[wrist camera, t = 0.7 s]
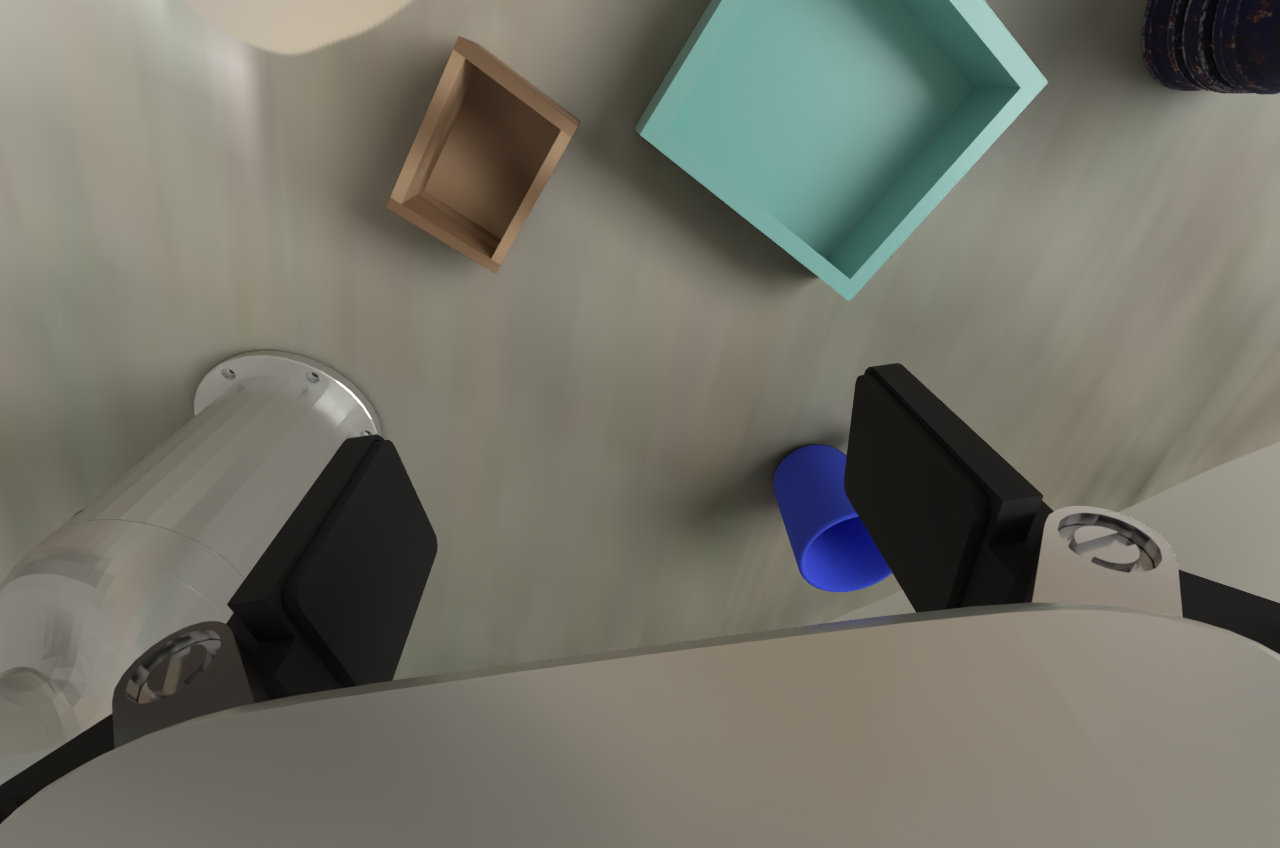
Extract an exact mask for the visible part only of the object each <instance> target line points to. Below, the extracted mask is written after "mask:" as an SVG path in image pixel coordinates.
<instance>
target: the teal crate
mask: <svg viewBox="0 0 1280 848" xmlns="http://www.w3.org/2000/svg"><path fill="white" fill-rule="evenodd" d="M1047 83H1048V81H1047V80H1046V78H1045V77H1044V76H1043V75H1042V73H1041V72H1040V71H1039V69H1038V68H1037V67H1036V66H1035V64H1034V63H1033V62H1032V60H1031V59H1030V58H1029V57H1028V55H1027V54H1026V53H1025V52H1024V50H1023V49H1022V48H1021V46H1020V45H1019V44H1018V43H1017V41H1016V40H1015V39H1014V38H1013V36H1012V35H1011V34H1010V32H1009V31H1008V30H1007V29H1006V27H1005V26H1004V25H1003V23H1002V22H1001V21H1000V20H999V18H998V17H997V16H996V15H995V13H994V12H993V11H992V9H991V8H990V7H989V6H988V4H987V3H986V2H985V1H984V0H711V1H710V3H709V5H708V6H707V8H706V10H705V11H704V13H703V14H702V16H701V18H700V19H699V21H698V23H697V24H696V26H695V28H694V29H693V31H692V33H691V34H690V36H689V38H688V39H687V41H686V43H685V44H684V46H683V48H682V49H681V51H680V53H679V54H678V56H677V58H676V59H675V61H674V63H673V64H672V66H671V68H670V69H669V71H668V73H667V74H666V76H665V77H664V79H663V81H662V82H661V84H660V86H659V87H658V89H657V91H656V92H655V94H654V96H653V97H652V99H651V101H650V102H649V104H648V106H647V107H646V109H645V111H644V112H643V114H642V116H641V117H640V119H639V121H638V122H637V124H636V126H635V127H634V130H635V131H636V132H637V133H638V134H639V135H640V136H642V137H643V138H644V139H645V140H647V141H648V142H649V143H651V144H652V145H653V146H654V147H656V148H657V149H658V150H659V151H661V152H662V153H663V154H664V155H666V156H667V157H668V158H669V159H671V160H672V161H673V162H674V163H676V164H677V165H678V166H679V167H681V168H682V169H683V170H684V171H686V172H687V173H688V174H690V175H691V176H692V177H693V178H695V179H696V180H697V181H698V182H700V183H701V184H702V185H703V186H705V187H706V188H707V189H708V190H710V191H711V192H712V193H713V194H715V195H716V196H717V197H718V198H720V199H721V200H722V201H723V202H725V203H726V204H727V205H729V206H730V207H731V208H732V209H734V210H735V211H736V212H737V213H739V214H740V215H741V216H742V217H744V218H745V219H746V220H747V221H749V222H750V223H751V224H752V225H754V226H755V227H756V228H757V229H759V230H760V231H761V232H762V233H764V234H765V235H766V236H768V237H769V238H770V239H771V240H773V241H774V242H775V243H776V244H778V245H779V246H780V247H781V248H783V249H784V250H785V251H786V252H788V253H789V254H790V255H791V256H793V257H794V258H795V259H796V260H798V261H799V262H800V263H801V264H803V265H804V266H805V267H807V268H808V269H809V270H810V271H812V272H813V273H814V274H815V275H817V276H818V277H819V278H820V279H822V280H823V281H824V282H825V283H827V284H828V285H829V286H830V287H832V288H833V289H834V290H835V291H837V292H838V293H839V294H840V295H842V296H843V297H844V298H846V299H847V300H848V301H850V300H851V299H852V298H853V297H854V296H855V295H856V293H857V292H858V291H859V290H860V289H861V288H862V287H863V286H864V285H865V284H866V282H867V281H868V280H869V279H870V278H871V277H872V276H873V275H874V274H875V273H876V271H877V270H878V269H879V268H880V267H881V266H882V265H883V264H884V263H885V262H886V260H887V259H888V258H889V257H890V256H891V255H892V254H893V253H894V252H895V251H896V249H897V248H898V247H899V246H900V245H901V244H902V243H903V242H904V241H905V240H906V238H907V237H908V236H909V235H910V234H911V233H912V232H913V231H914V230H915V229H916V227H917V226H918V225H919V224H920V223H921V222H922V221H923V220H924V219H925V218H926V216H927V215H928V214H929V213H930V212H931V211H932V210H933V209H934V208H935V207H936V205H937V204H938V203H939V202H940V201H941V200H942V199H943V198H944V197H945V196H946V194H947V193H948V192H949V191H950V190H951V189H952V188H953V187H954V186H955V185H956V183H957V182H958V181H959V180H960V179H961V178H962V177H963V176H964V175H965V174H966V172H967V171H968V170H969V169H970V168H971V167H972V166H973V165H974V164H975V163H976V161H977V160H978V159H979V158H980V157H981V156H982V155H983V154H984V153H985V152H986V150H987V149H988V148H989V147H990V146H991V145H992V144H993V143H994V142H995V141H996V139H997V138H998V137H999V136H1000V135H1001V134H1002V133H1003V132H1004V131H1005V130H1006V128H1007V127H1008V126H1009V125H1010V124H1011V123H1012V122H1013V121H1014V120H1015V119H1016V117H1017V116H1018V115H1019V114H1020V113H1021V112H1022V111H1023V110H1024V109H1025V108H1026V106H1027V105H1028V104H1029V103H1030V102H1031V101H1032V100H1033V99H1034V98H1035V97H1036V95H1037V94H1038V93H1039V92H1040V91H1041V90H1042V89H1043V88H1044V87H1045V86H1046V84H1047Z"/></svg>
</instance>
